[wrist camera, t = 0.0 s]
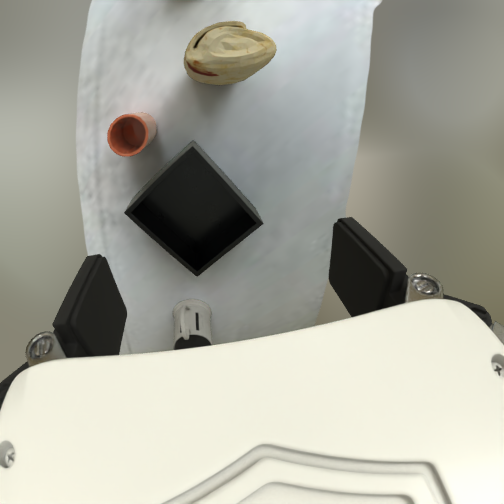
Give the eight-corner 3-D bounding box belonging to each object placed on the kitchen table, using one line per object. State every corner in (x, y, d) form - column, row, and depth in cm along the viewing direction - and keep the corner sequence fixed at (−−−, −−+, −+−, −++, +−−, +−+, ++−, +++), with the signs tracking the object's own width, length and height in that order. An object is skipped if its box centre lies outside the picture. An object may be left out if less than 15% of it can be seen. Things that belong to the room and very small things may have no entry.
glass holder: (177, 329, 62) (177, 382, 49) (162, 281, 55) (156, 335, 42) (214, 324, 63) (220, 377, 50) (204, 275, 56) (208, 329, 43)
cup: (115, 131, 38) (99, 137, 32) (140, 104, 37) (128, 105, 30) (138, 154, 41) (127, 165, 34) (164, 129, 40) (157, 134, 33)
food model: (189, 92, 38) (182, 82, 21) (185, 54, 34) (176, 19, 17) (250, 85, 39) (287, 74, 22) (247, 48, 35) (282, 14, 18)
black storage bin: (132, 198, 45) (123, 212, 39) (193, 139, 42) (192, 145, 36) (196, 256, 53) (197, 277, 47) (255, 208, 50) (263, 223, 44)
